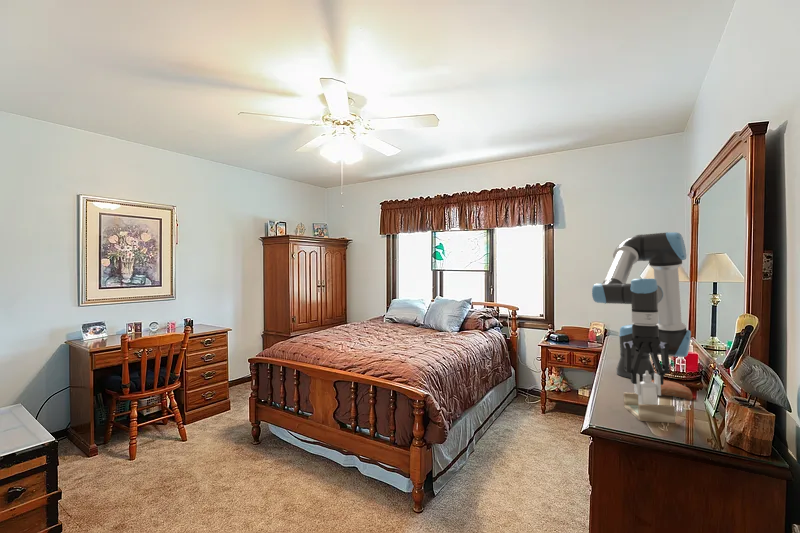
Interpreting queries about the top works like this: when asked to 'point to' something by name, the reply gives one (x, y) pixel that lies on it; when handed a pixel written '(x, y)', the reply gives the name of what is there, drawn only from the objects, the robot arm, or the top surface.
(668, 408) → the rack
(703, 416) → the top surface
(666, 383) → the ceramic shard
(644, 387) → the eye dropper bottle
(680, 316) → the robot arm
